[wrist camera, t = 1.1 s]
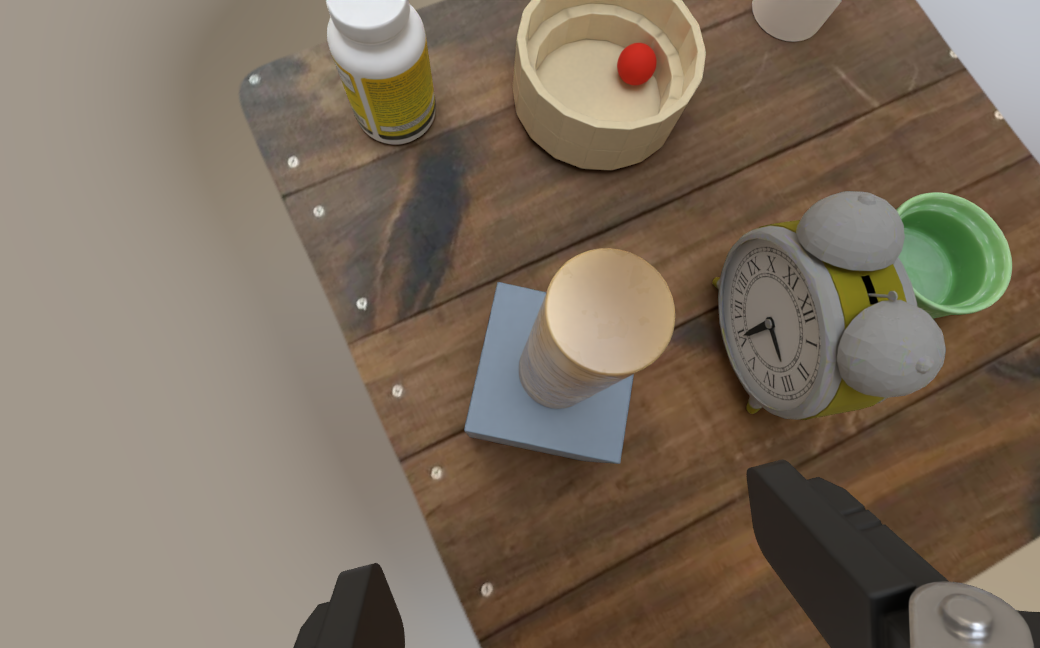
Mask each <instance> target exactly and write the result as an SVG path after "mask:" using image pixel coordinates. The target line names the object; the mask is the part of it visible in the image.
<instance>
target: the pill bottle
mask: <svg viewBox="0 0 1040 648" xmlns="http://www.w3.org/2000/svg"><path fill="white" fill-rule="evenodd" d="M326 3H327V7H328V10H329V13H330V16H331V17H330V20H329V23H328V29H327V40H328V45H329V49H330V52H331V54H332V57H333V60H334V62H335V65H336V67H337V70H338V73H339V75H340V78H341V80H342V83H343V86H344V88H345V91H346V94H347V96H348V99H349V101H350V104H351V107H352V109H353V111H354V114H355V117H356V119H357V121H358V123H359V125H360V126H361V128H362V129H363V130H364V131H365V132H366V133H367V134H368V135H369V136H370V137H372V138H374V139H375V140H377V141H380V142H383V143H387V144H404V143H408V142H411V141H413V140H415V139H417V138H419V137H420V136H421V135H423V134H424V133H425V132H426V131H427V130H428V128H429V127H430V126H431V124H432V122H433V119H434V116H435V110H436V105H435V95H434V89H433V82H432V75H431V69H430V62H429V55H428V48H427V41H426V35H425V30H424V26H423V23H422V20H421V18H420V16H419V15H418V13H417V12H416V10H415V9H414V8H413V7H412V6H411V5H410V4H409V1H408V0H326Z"/></svg>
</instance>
